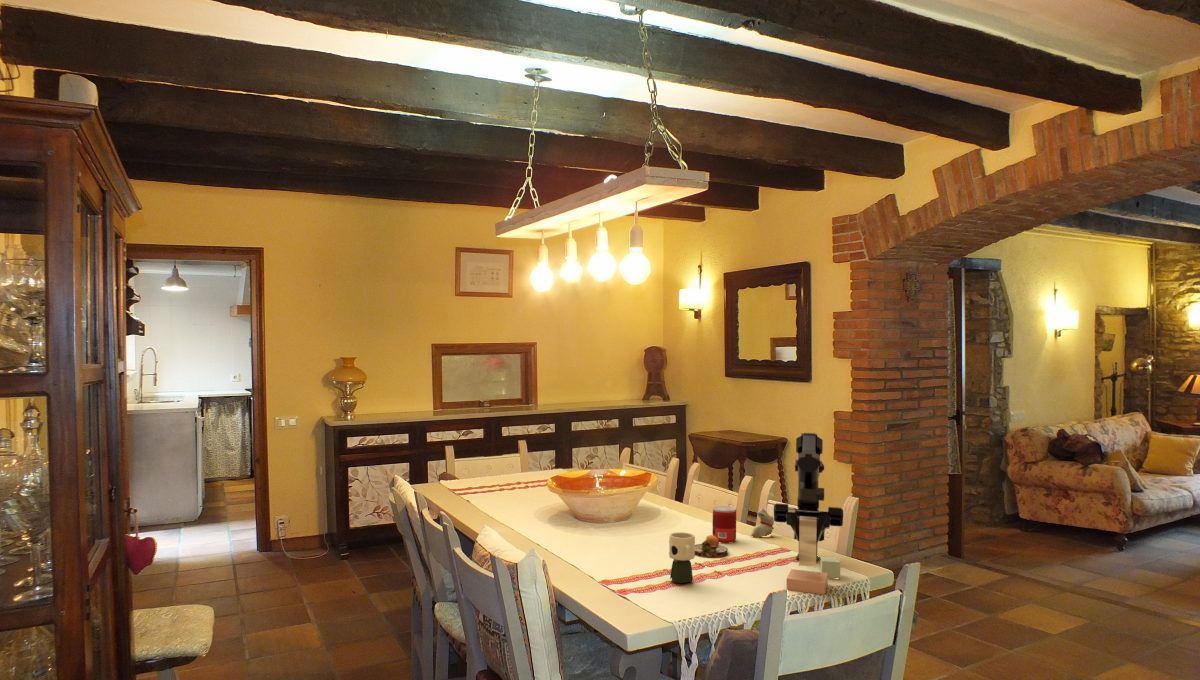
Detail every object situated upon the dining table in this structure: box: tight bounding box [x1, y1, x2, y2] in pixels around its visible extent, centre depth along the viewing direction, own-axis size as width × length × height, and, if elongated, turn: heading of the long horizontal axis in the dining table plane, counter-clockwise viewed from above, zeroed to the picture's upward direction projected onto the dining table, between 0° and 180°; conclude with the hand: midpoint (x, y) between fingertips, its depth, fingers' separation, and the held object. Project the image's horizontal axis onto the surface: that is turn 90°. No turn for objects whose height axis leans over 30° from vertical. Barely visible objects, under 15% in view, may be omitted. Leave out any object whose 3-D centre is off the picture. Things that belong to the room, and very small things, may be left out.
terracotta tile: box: [785, 568, 829, 595], centre depth 209 cm, size 10×10×3 cm
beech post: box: [798, 516, 817, 568], centre depth 209 cm, size 4×4×12 cm
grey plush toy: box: [750, 508, 775, 538], centre depth 267 cm, size 6×8×10 cm
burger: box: [695, 534, 729, 559], centre depth 243 cm, size 12×12×8 cm
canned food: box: [712, 505, 737, 544], centre depth 260 cm, size 8×8×11 cm
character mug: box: [668, 531, 696, 584], centre depth 212 cm, size 11×7×13 cm, turn 14°
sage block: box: [820, 556, 841, 579], centre depth 219 cm, size 5×5×5 cm
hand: (807, 541), depth 208 cm, fingers closed on beech post, 4 cm apart
